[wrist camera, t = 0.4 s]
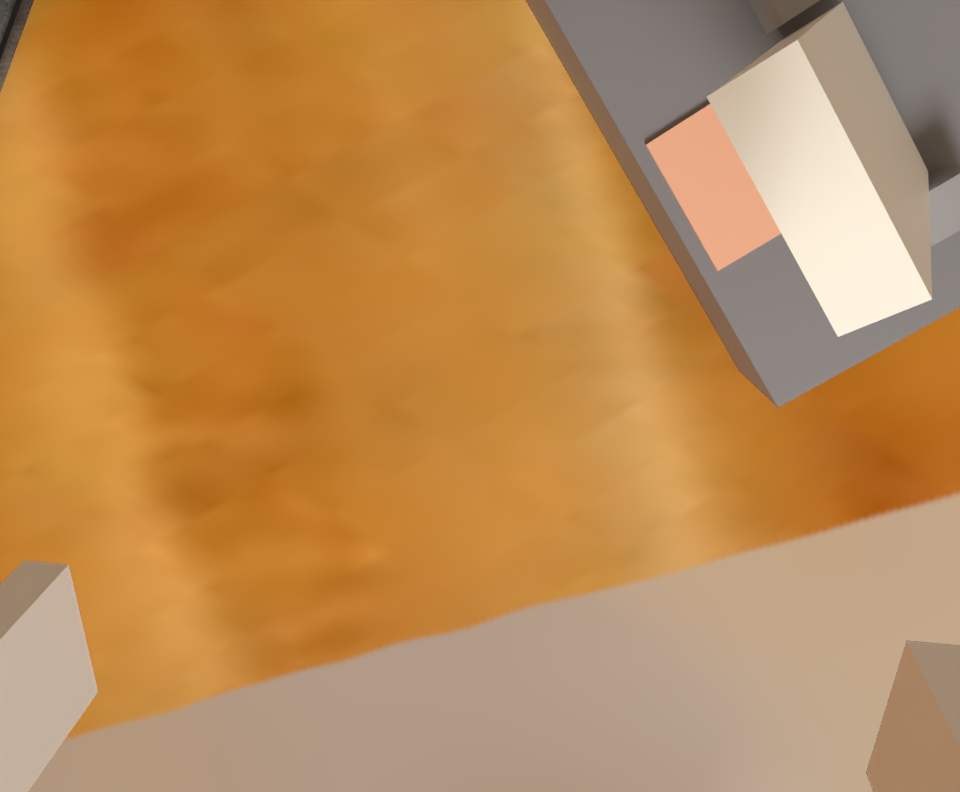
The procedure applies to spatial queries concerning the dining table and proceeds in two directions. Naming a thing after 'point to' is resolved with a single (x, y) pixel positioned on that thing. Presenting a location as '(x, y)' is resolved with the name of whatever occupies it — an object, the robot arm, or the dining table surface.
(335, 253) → the dining table surface
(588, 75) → the switch unit
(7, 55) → the phone
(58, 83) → the dining table surface
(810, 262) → the lever
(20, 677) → the robot arm
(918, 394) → the dining table surface
